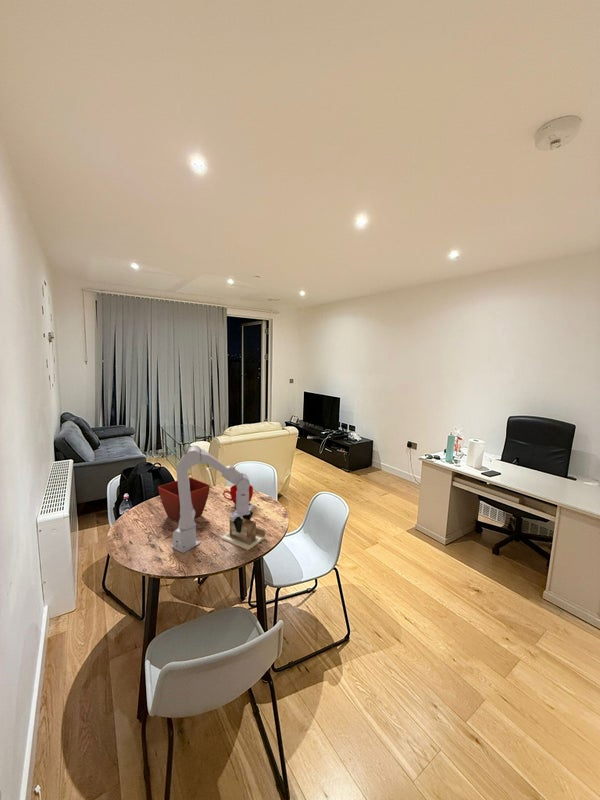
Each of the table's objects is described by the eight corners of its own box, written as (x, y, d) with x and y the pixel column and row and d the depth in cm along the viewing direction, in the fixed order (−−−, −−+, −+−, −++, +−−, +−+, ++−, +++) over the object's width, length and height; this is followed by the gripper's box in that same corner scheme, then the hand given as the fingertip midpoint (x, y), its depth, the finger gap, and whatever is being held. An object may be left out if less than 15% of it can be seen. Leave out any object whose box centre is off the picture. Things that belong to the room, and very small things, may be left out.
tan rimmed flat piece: (248, 550, 141) (248, 541, 140) (221, 539, 149) (221, 530, 149) (265, 538, 151) (265, 529, 151) (239, 528, 159) (239, 520, 159)
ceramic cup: (222, 501, 190) (222, 485, 189) (251, 499, 195) (251, 483, 194) (223, 511, 178) (223, 493, 177) (254, 508, 182) (254, 491, 181)
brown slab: (249, 543, 144) (249, 526, 143) (229, 535, 150) (229, 518, 149) (255, 538, 148) (255, 522, 147) (236, 531, 154) (236, 515, 153)
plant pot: (178, 529, 157) (178, 496, 155) (157, 517, 168) (157, 486, 166) (210, 515, 172) (210, 485, 170) (189, 505, 183) (189, 476, 181)
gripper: (238, 509, 139) (238, 539, 140) (259, 498, 151) (258, 525, 153) (226, 505, 143) (226, 534, 144) (247, 494, 155) (247, 521, 156)
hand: (242, 529), depth 149 cm, fingers closed on brown slab, 4 cm apart
